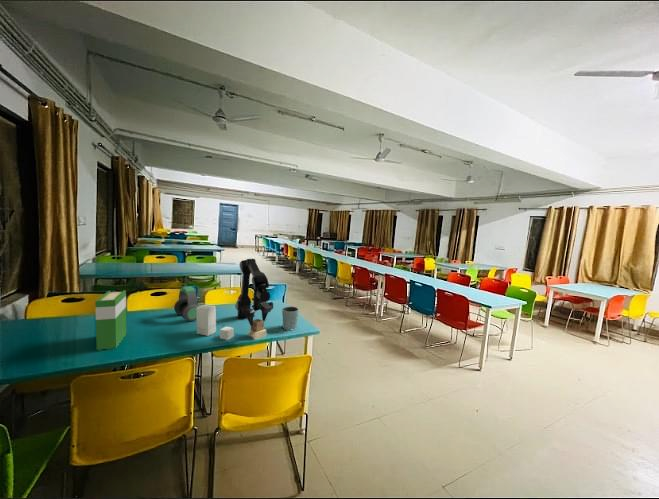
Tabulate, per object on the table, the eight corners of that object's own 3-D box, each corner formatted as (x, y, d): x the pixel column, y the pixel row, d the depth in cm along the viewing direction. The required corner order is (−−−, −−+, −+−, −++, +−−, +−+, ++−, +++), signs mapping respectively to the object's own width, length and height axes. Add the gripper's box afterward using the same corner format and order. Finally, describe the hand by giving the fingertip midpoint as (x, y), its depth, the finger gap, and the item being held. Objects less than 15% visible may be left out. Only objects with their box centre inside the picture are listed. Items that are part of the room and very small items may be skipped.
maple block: (248, 335, 153) (248, 328, 153) (259, 332, 158) (259, 326, 158) (254, 340, 148) (255, 333, 148) (265, 336, 153) (266, 330, 153)
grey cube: (220, 338, 147) (220, 329, 147) (226, 334, 152) (226, 326, 151) (227, 340, 146) (228, 331, 145) (233, 336, 151) (233, 327, 150)
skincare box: (216, 332, 154) (216, 306, 152) (207, 336, 148) (208, 309, 146) (204, 329, 157) (205, 303, 155) (195, 333, 151) (196, 306, 149)
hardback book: (109, 335, 142) (108, 290, 140) (126, 333, 145) (125, 290, 143) (96, 350, 126) (95, 301, 124) (116, 348, 129) (115, 300, 127)
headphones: (202, 319, 170) (203, 289, 168) (184, 324, 162) (184, 291, 160) (190, 311, 183) (190, 283, 181) (172, 315, 175) (172, 285, 173)
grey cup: (294, 331, 162) (295, 312, 161) (278, 329, 164) (279, 310, 163) (299, 325, 172) (300, 307, 171) (284, 323, 174) (285, 305, 173)
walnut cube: (250, 329, 152) (251, 321, 152) (257, 327, 156) (257, 318, 156) (256, 332, 149) (257, 323, 149) (263, 329, 154) (264, 321, 153)
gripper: (256, 303, 139) (255, 332, 140) (280, 296, 154) (279, 322, 156) (241, 299, 145) (240, 327, 146) (266, 292, 160) (265, 317, 162)
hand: (257, 323), depth 152 cm, fingers open, 9 cm apart
